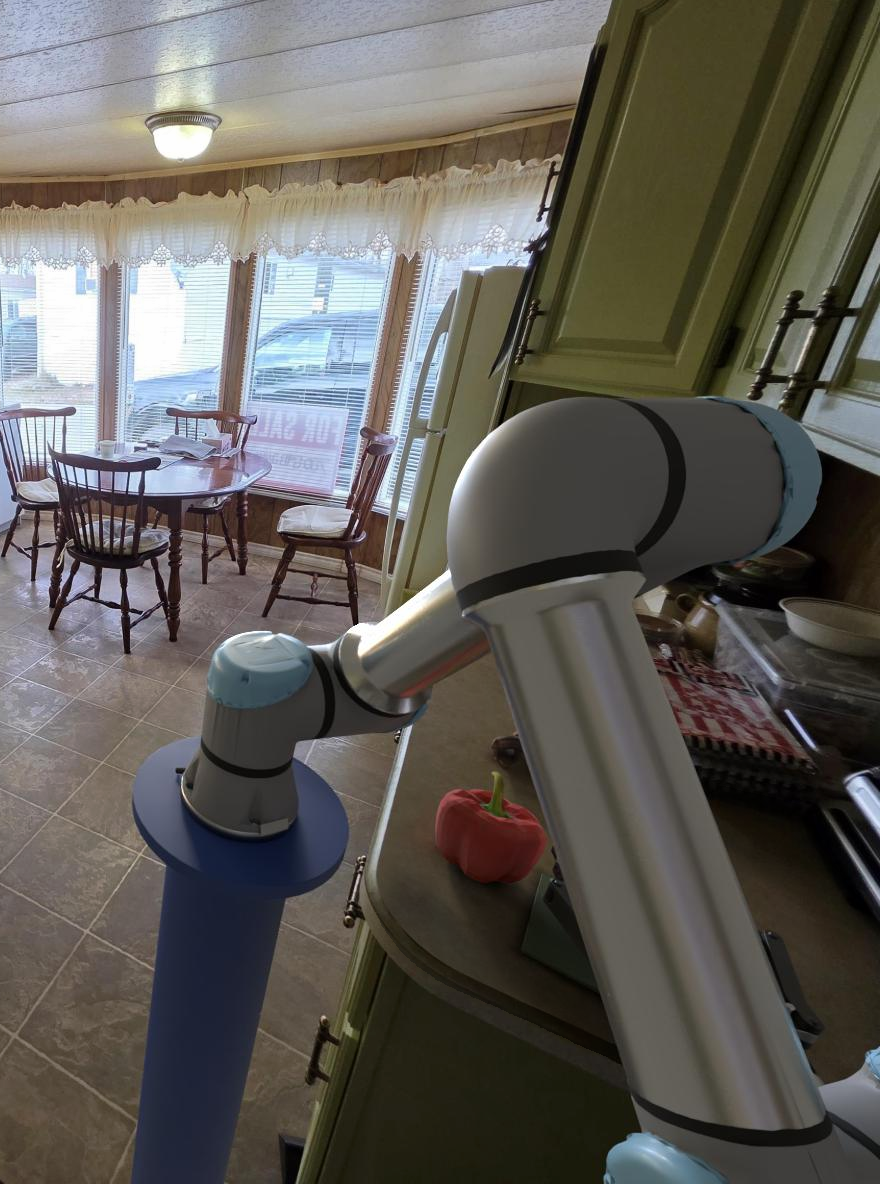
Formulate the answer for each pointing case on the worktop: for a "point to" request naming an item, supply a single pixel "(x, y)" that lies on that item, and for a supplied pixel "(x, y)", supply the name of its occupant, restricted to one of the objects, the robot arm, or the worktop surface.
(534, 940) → the coaster
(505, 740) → the headlamp
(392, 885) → the worktop surface
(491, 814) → the vegetable
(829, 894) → the worktop surface
